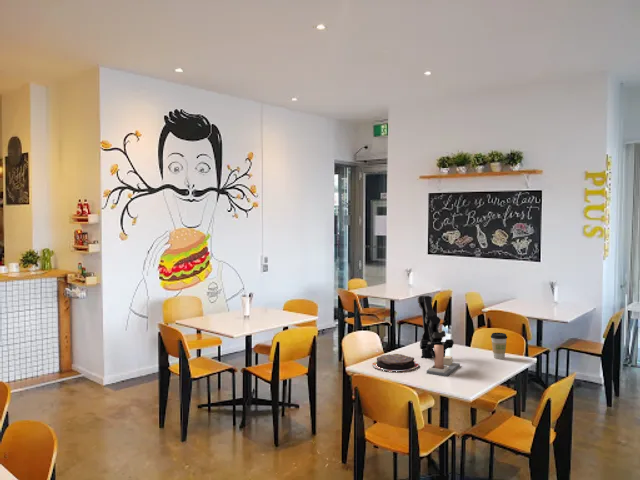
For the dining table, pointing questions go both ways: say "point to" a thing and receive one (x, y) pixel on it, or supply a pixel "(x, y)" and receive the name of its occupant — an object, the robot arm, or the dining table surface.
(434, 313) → the robot arm
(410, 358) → the chocolate cake
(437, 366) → the pillar
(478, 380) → the dining table surface
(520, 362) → the dining table surface
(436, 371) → the base plate
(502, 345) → the coffee cup
